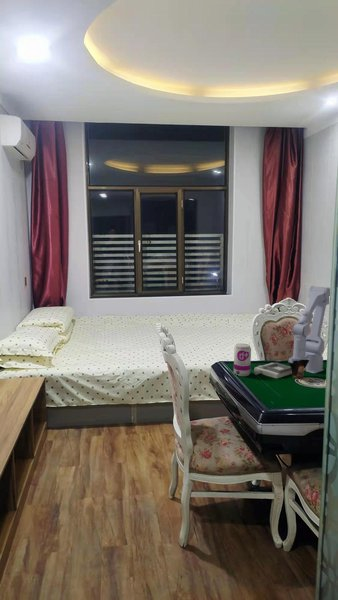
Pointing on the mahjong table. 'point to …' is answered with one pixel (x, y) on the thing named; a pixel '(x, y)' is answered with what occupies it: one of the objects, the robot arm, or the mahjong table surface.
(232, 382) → the mahjong table surface
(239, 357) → the supplement can
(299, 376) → the spout can
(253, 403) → the mahjong table surface
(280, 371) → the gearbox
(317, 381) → the mahjong table surface
